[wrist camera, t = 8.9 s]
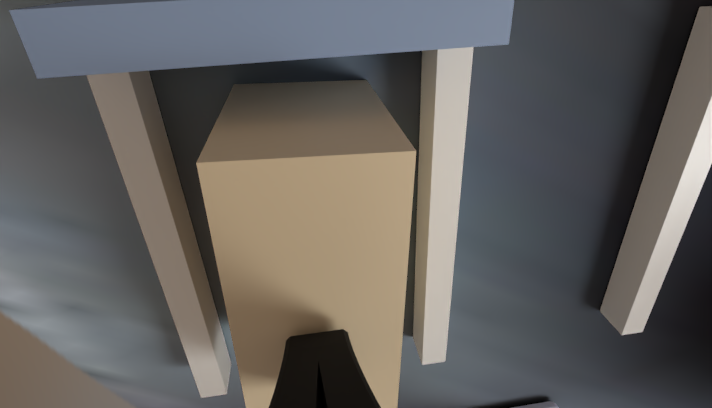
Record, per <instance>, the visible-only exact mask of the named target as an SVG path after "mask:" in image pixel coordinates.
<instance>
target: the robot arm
mask: <svg viewBox="0 0 712 408" xmlns="http://www.w3.org/2000/svg"><path fill="white" fill-rule="evenodd" d="M269 408H381V407H380V405H379V403H378V401H377V400H376V398H375V396H374V394H373V392H372V390H371V388H370V386H369V384H368V382H367V380H366V378H365V376H364V374H363V372H362V369H361V367H360V365H359V363H358V360H357V358H356V356H355V353H354V350H353V348H352V345H351V342H350V339H349V335H348V332H347V331H345V330H344V329H340V330H333V331H325V332H318V333H311V334H304V335H296V336H290V337H289V338H288V339H287V340H286V344H285V350H284V355H283V360H282V364H281V368H280V372H279V376H278V379H277V383H276V386H275V390H274V393H273V396H272V399H271V402H270V405H269ZM511 408H558V406H557V405H556V403H555V402H552V401H548V402H542V403H536V404H530V405H524V406H517V407H511Z"/></svg>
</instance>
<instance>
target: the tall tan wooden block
mask: <svg viewBox="0 0 712 408" xmlns="http://www.w3.org/2000/svg"><path fill="white" fill-rule="evenodd" d="M415 162H416V150H415V148H414V147H413V145H412V144H411V143H410V141H409V140H408V138H407V137H406V135H405V134H404V133H403V131H402V130H401V128H400V127H399V126H398V124H397V123H396V121H395V120H394V118H393V117H392V116H391V114H390V113H389V111H388V110H387V108H386V107H385V106H384V104H383V103H382V101H381V100H380V98H379V97H378V96H377V94H376V93H375V91H374V90H373V89H372V87H371V86H370V84H369V83H368V81H367V80H347V81H317V82H287V83H257V84H234V85H233V87H232V89H231V91H230V94H229V96H228V98H227V100H226V102H225V104H224V106H223V108H222V110H221V112H220V114H219V116H218V119H217V121H216V123H215V125H214V127H213V129H212V131H211V133H210V135H209V137H208V139H207V141H206V143H205V146H204V148H203V150H202V152H201V154H200V156H199V158H198V160H197V162H196V165H197V170H198V174H199V179H200V184H201V189H202V194H203V199H204V204H205V209H206V214H207V219H208V223H209V228H210V233H211V238H212V243H213V248H214V253H215V258H216V263H217V268H218V272H219V277H220V282H221V287H222V292H223V297H224V302H225V307H226V312H227V317H228V321H229V326H230V331H231V336H232V341H233V346H234V351H235V356H236V361H237V366H238V370H239V375H240V380H241V385H242V390H243V395H244V400H245V405H246V408H269V405H270V402H271V399H272V396H273V393H274V390H275V386H276V383H277V379H278V376H279V372H280V368H281V364H282V360H283V355H284V350H285V344H286V340H287V339H288V338H289V337H290V336H296V335H304V334H311V333H318V332H325V331H333V330H340V329H344V330H345V331H347V332H348V335H349V339H350V342H351V345H352V348H353V350H354V353H355V356H356V358H357V360H358V363H359V365H360V367H361V369H362V372H363V374H364V376H365V378H366V380H367V382H368V384H369V386H370V388H371V390H372V392H373V394H374V396H375V398H376V400H377V401H378V403H379V405H380V407H381V408H397V405H398V391H399V378H400V364H401V351H402V337H403V324H404V310H405V297H406V283H407V270H408V256H409V243H410V229H411V216H412V202H413V189H414V175H415Z"/></svg>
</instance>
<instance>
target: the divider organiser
mask: <svg viewBox="0 0 712 408" xmlns="http://www.w3.org/2000/svg"><path fill="white" fill-rule="evenodd" d="M513 7H514V0H75V1H68V2H61V3H55V4H48V5H41V6H34V7H27V8H20V9H14V10H9V12H10V14H11V16H12V19H13V21H14V24H15V26H16V29H17V31H18V33H19V36H20V38H21V41H22V43H23V45H24V48H25V50H26V53H27V55H28V57H29V60H30V62H31V65H32V67H33V70H34V72H35V74H36V77H37V79H40V78H54V77H68V76H82V75H87V78H88V81H89V84H90V87H91V90H92V92H93V95H94V98H95V101H96V104H97V106H98V109H99V112H100V115H101V118H102V120H103V123H104V126H105V129H106V132H107V134H108V137H109V140H110V143H111V146H112V149H113V151H114V154H115V157H116V160H117V163H118V165H119V168H120V171H121V174H122V177H123V179H124V182H125V185H126V188H127V191H128V193H129V196H130V199H131V202H132V205H133V208H134V210H135V213H136V216H137V219H138V222H139V224H140V227H141V230H142V233H143V236H144V238H145V241H146V244H147V247H148V250H149V252H150V255H151V258H152V261H153V264H154V267H155V269H156V272H157V275H158V278H159V281H160V283H161V286H162V289H163V292H164V295H165V297H166V300H167V303H168V306H169V309H170V312H171V314H172V317H173V320H174V323H175V326H176V328H177V331H178V334H179V337H180V340H181V342H182V345H183V348H184V351H185V354H186V356H187V359H188V362H189V365H190V368H191V371H192V373H193V376H194V379H195V382H196V385H197V387H198V390H199V393H200V396H201V398H205V397H211V396H218V395H225V394H227V391H228V384H229V377H230V370H231V360H230V357H229V353H228V350H227V346H226V343H225V339H224V335H223V332H222V328H221V325H220V321H219V318H218V314H217V311H216V307H215V304H214V300H213V297H212V293H211V289H210V286H209V282H208V279H207V275H206V272H205V268H204V265H203V261H202V258H201V254H200V250H199V247H198V243H197V240H196V236H195V233H194V229H193V226H192V222H191V219H190V215H189V211H188V208H187V204H186V201H185V197H184V194H183V190H182V187H181V183H180V180H179V176H178V172H177V169H176V165H175V162H174V158H173V155H172V151H171V148H170V144H169V141H168V137H167V133H166V130H165V126H164V123H163V119H162V116H161V112H160V109H159V105H158V102H157V98H156V95H155V91H154V87H153V84H152V80H151V77H150V73H149V71H150V70H164V69H178V68H191V67H205V66H219V65H232V64H246V63H260V62H274V61H287V60H301V59H315V58H328V57H342V56H356V55H370V54H383V53H397V52H411V51H422V70H421V101H420V133H419V164H418V195H417V227H416V258H415V289H414V321H413V339H414V342H415V345H416V348H417V351H418V354H419V357H420V360H421V363H422V365H425V364H432V363H439V362H445V360H446V348H447V337H448V326H449V315H450V304H451V292H452V281H453V270H454V259H455V248H456V236H457V225H458V214H459V203H460V192H461V180H462V169H463V158H464V147H465V136H466V124H467V113H468V102H469V91H470V80H471V68H472V57H473V47H479V46H493V45H507V44H509V38H510V30H511V22H512V14H513ZM711 164H712V6H702V7H699V10H698V13H697V16H696V19H695V22H694V25H693V28H692V31H691V34H690V37H689V40H688V43H687V46H686V49H685V52H684V55H683V58H682V62H681V65H680V68H679V71H678V74H677V77H676V80H675V83H674V86H673V89H672V92H671V95H670V98H669V101H668V104H667V107H666V110H665V113H664V116H663V119H662V123H661V126H660V129H659V132H658V135H657V138H656V141H655V144H654V147H653V150H652V153H651V156H650V159H649V162H648V165H647V168H646V171H645V174H644V177H643V180H642V184H641V187H640V190H639V193H638V196H637V199H636V202H635V205H634V208H633V211H632V214H631V217H630V220H629V223H628V226H627V229H626V232H625V235H624V238H623V241H622V244H621V248H620V251H619V254H618V257H617V260H616V263H615V266H614V269H613V272H612V275H611V278H610V281H609V284H608V287H607V290H606V293H605V296H604V299H603V302H602V305H601V309H600V312H601V313H602V314H603V315H604V316H605V317H606V319H607V320H608V321H609V322H610V323H611V324H612V325H613V326H614V327H615V328H616V330H617V331H618V332H619V333H620V334H621V335H626V334H633V333H639V332H643V330H644V327H645V325H646V322H647V320H648V318H649V315H650V313H651V310H652V308H653V305H654V303H655V300H656V298H657V296H658V293H659V291H660V288H661V286H662V283H663V281H664V278H665V276H666V274H667V271H668V269H669V266H670V264H671V261H672V259H673V257H674V254H675V252H676V249H677V247H678V244H679V242H680V239H681V237H682V235H683V232H684V230H685V227H686V225H687V222H688V220H689V218H690V215H691V213H692V210H693V208H694V205H695V203H696V200H697V198H698V196H699V193H700V191H701V188H702V186H703V183H704V181H705V178H706V176H707V174H708V171H709V169H710V166H711Z"/></svg>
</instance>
